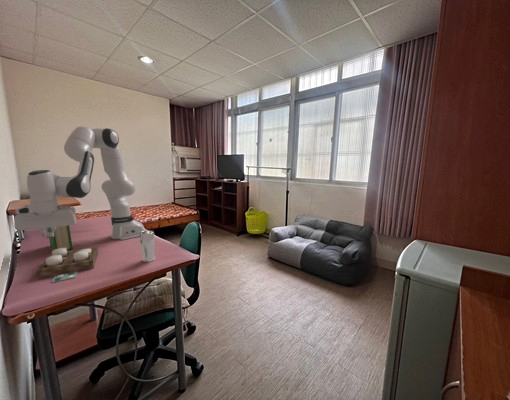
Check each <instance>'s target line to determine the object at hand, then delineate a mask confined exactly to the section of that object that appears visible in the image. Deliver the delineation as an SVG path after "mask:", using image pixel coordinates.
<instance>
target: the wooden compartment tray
mask: <svg viewBox="0 0 510 400" xmlns="http://www.w3.org/2000/svg"><path fill="white" fill-rule="evenodd" d="M82 249H83V248H79V249H74V250H67V256H65V257H62V261H63V263H62V264H60V265H57V266H51V267H47V265H46V260H44V261H43V262H42V263H41V265H40V266H39V267H38V268H37V269H36V274H37V275H36V276H37V280H39V278H41V279H45V277H46V278H52V277H55V276H56V275H61V274H67V273H71V272H77V271H78V272H81V271H86V270H91V269H94V268H95V266H96V263H97V259H98V256H99V248H98V246H93V247H87V248H84V249H91V251H92V252H91V253H88V255H89V259H87V260H85V261H79V262H75V261H74V255H73V254H74V253H76V252H78V251H80V250H82ZM50 256H52V253H50V254H49V255H47V257H50Z"/></svg>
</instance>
